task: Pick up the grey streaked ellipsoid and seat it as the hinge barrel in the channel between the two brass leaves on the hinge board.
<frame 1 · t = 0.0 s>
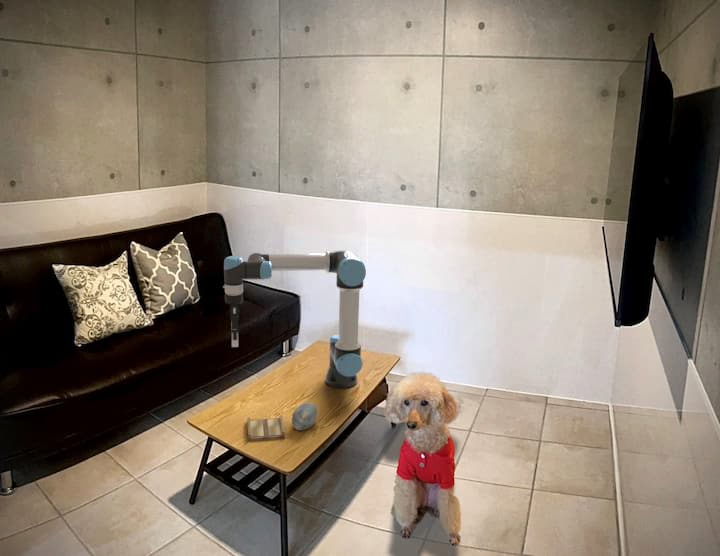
hand: (234, 340, 261), 28 cm above the table, fingers open, 13 cm apart
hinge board: (265, 430, 244), on the table
grey streaked ellipsoid: (304, 425, 250), on the table
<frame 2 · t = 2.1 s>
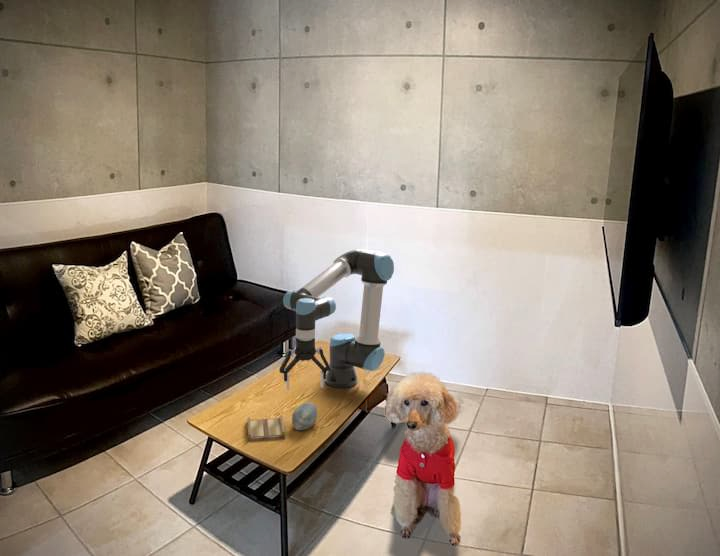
hand: (304, 387, 245), 17 cm above the table, fingers open, 13 cm apart
nothing on the table moved.
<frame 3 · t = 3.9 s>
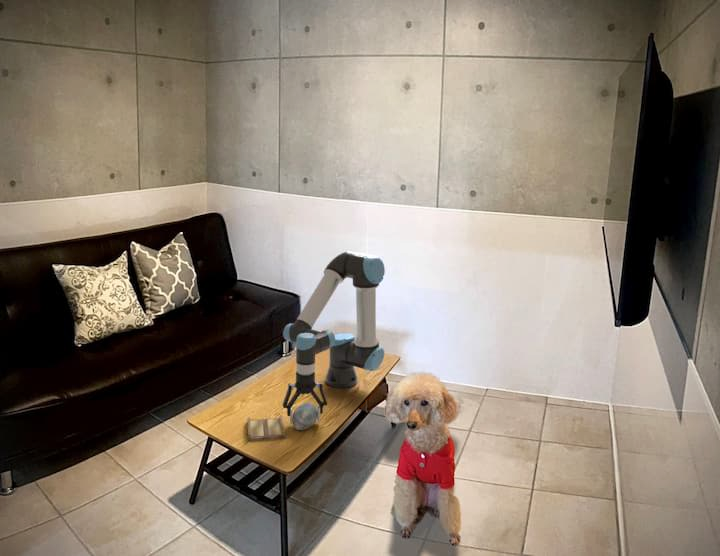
hand: (304, 421, 249), 1 cm above the table, fingers closed on grey streaked ellipsoid, 10 cm apart
grey streaked ellipsoid: (304, 425, 250), on the table, touching gripper
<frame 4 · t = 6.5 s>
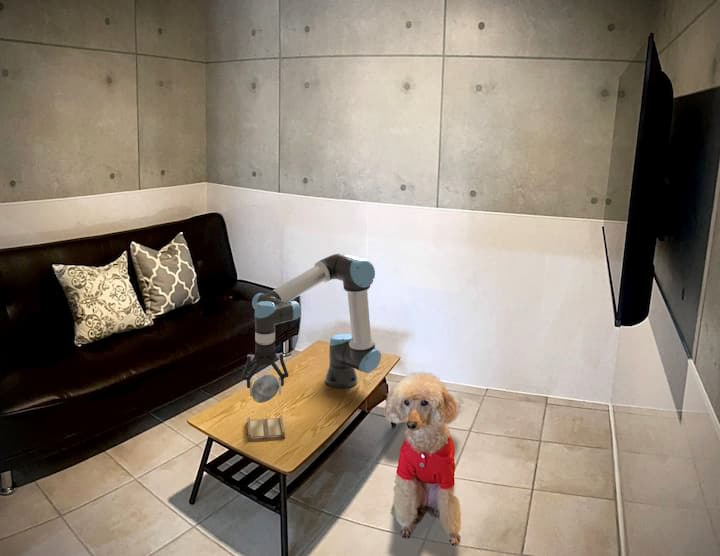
hand: (265, 394, 240), 16 cm above the table, fingers closed on grey streaked ellipsoid, 10 cm apart
grey streaked ellipsoid: (265, 398, 241), point 14 cm above the table, touching gripper
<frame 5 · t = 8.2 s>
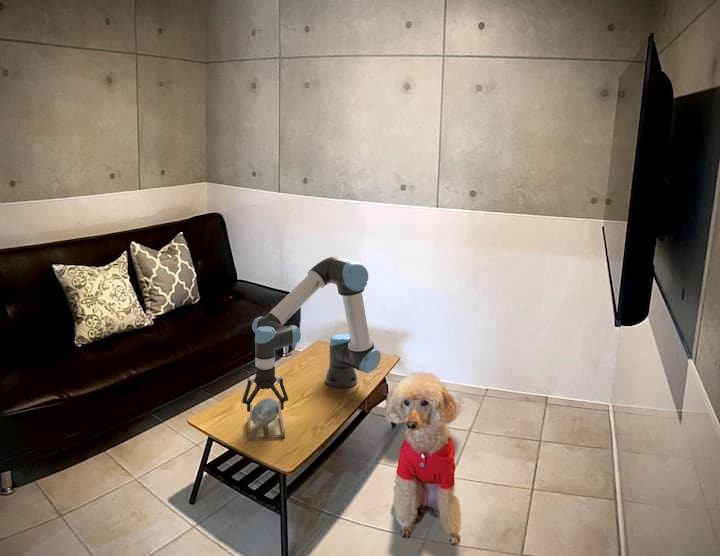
hand: (265, 417, 243), 6 cm above the table, fingers closed on grey streaked ellipsoid, 10 cm apart
grey streaked ellipsoid: (265, 421, 243), point 4 cm above the table, touching gripper
when the fingers open (3 cm above the table, at t = 9.2 s): grey streaked ellipsoid stays where it is, resting on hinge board.
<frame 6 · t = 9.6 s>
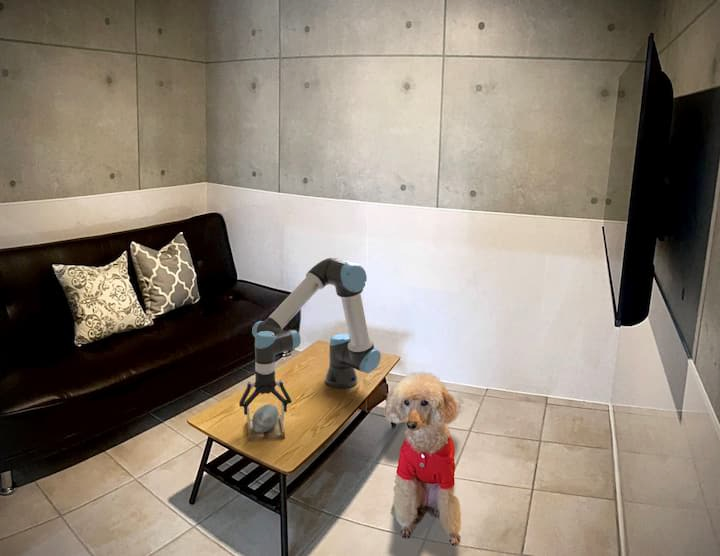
hand: (265, 420, 243), 4 cm above the table, fingers open, 13 cm apart
grey streaked ellipsoid: (265, 427, 244), point 1 cm above the table, touching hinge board
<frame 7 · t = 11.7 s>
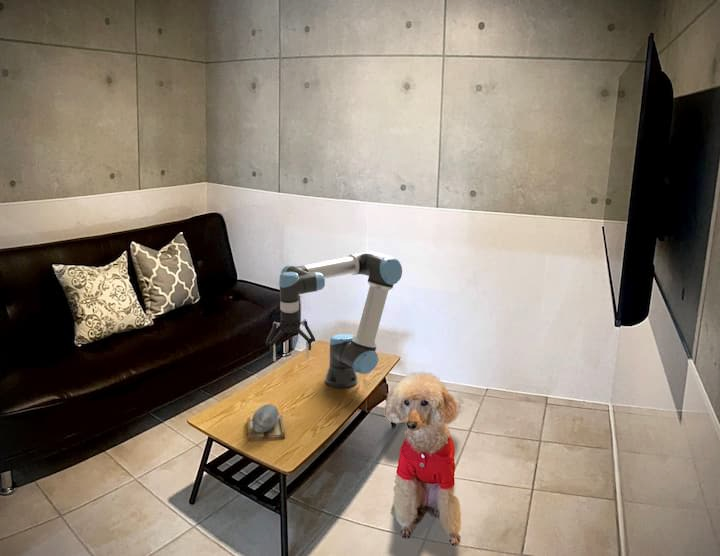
hand: (291, 358, 253), 25 cm above the table, fingers open, 13 cm apart
nothing on the table moved.
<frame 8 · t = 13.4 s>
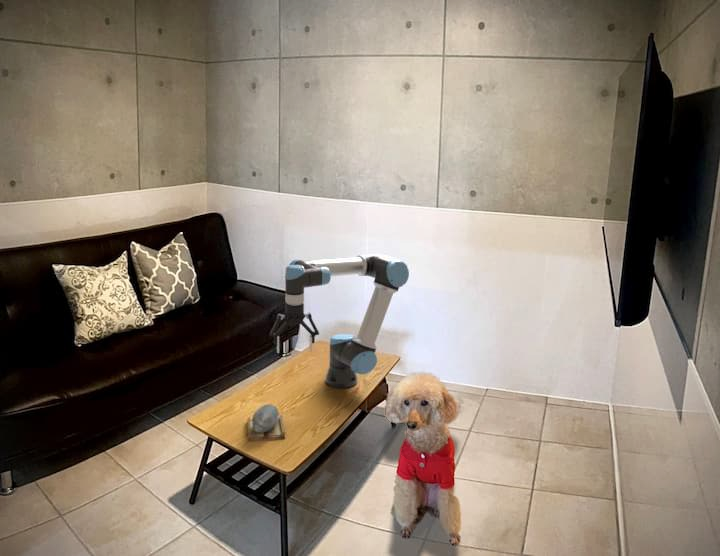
hand: (294, 351, 255), 27 cm above the table, fingers open, 13 cm apart
nothing on the table moved.
at the end: grey streaked ellipsoid inside the target area on the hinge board (0.0 cm from its centre), point 1.0 cm above the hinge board's base; the gripper is holding nothing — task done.
